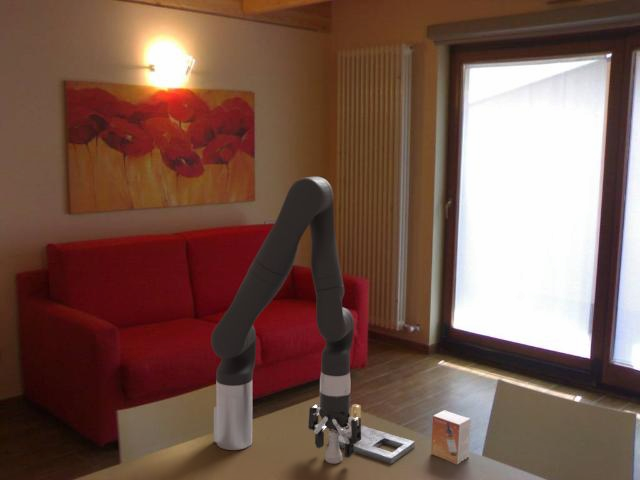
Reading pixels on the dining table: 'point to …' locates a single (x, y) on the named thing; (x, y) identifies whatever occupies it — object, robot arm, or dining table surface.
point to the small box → (450, 436)
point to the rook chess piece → (333, 448)
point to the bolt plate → (377, 442)
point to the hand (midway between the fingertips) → (334, 451)
